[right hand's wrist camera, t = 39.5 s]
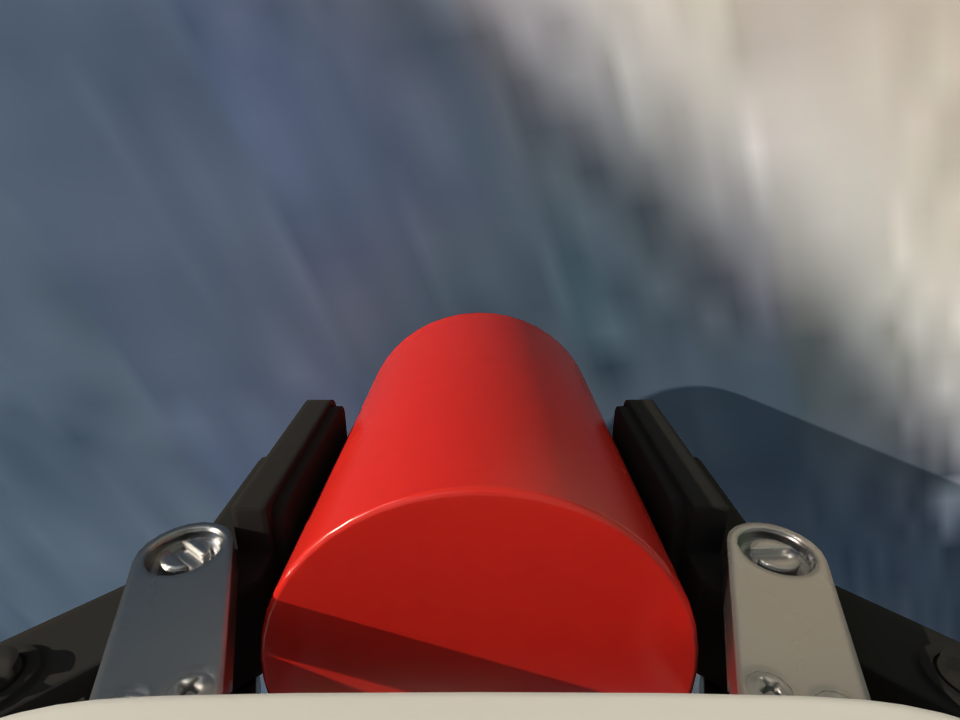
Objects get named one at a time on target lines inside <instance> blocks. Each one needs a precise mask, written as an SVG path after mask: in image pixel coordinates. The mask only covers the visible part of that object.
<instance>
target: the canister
mask: <svg viewBox="0 0 960 720" xmlns="http://www.w3.org/2000/svg"><path fill="white" fill-rule="evenodd" d="M698 646H699V645H698V636H697V627H696V622H695V618H694V615H693V612H692V608H691V605H690V602H689V600H688V598H687V595H686V593H685V591H684V589H683V587H682V585H681V583H680V581H679V578H678V576H677V574H676V572H675V570H674V568H673V566H672V564H671V562H670V559H669V557H668V555H667V553H666V551H665V549H664V547H663V545H662V542H661V540H660V538H659V536H658V534H657V532H656V530H655V528H654V526H653V523H652V521H651V519H650V517H649V515H648V513H647V511H646V509H645V506H644V504H643V502H642V500H641V498H640V496H639V494H638V492H637V490H636V487H635V485H634V483H633V481H632V479H631V477H630V475H629V473H628V471H627V468H626V466H625V464H624V462H623V460H622V458H621V456H620V454H619V451H618V449H617V447H616V445H615V443H614V441H613V439H612V437H611V435H610V432H609V430H608V428H607V426H606V424H605V422H604V420H603V418H602V415H601V413H600V411H599V409H598V407H597V405H596V403H595V401H594V399H593V396H592V394H591V392H590V390H589V388H588V386H587V384H586V382H585V379H584V377H583V375H582V373H581V371H580V369H579V367H578V365H577V364H576V363H575V361H574V360H573V358H572V357H571V355H570V354H569V353H568V352H567V351H566V350H565V349H564V347H563V346H562V345H561V344H560V343H559V342H557V341H556V340H555V339H554V338H552V337H551V336H550V335H549V334H547V333H546V332H544V331H542V330H541V329H539V328H538V327H536V326H534V325H531V324H529V323H527V322H525V321H522V320H519V319H516V318H513V317H509V316H504V315H499V314H493V313H470V314H460V315H456V316H451V317H446V318H444V319H441V320H438V321H435V322H432V323H430V324H428V325H426V326H424V327H422V328H421V329H419V330H417V331H416V332H414V333H413V334H411V335H410V336H408V337H407V338H406V339H405V340H404V341H403V342H401V343H400V344H399V345H398V346H397V347H396V348H395V349H394V350H393V352H392V353H391V354H390V355H389V356H388V358H387V359H386V361H385V362H384V364H383V366H382V367H381V369H380V370H379V373H378V375H377V377H376V379H375V381H374V383H373V385H372V387H371V389H370V391H369V393H368V396H367V398H366V400H365V402H364V404H363V406H362V408H361V410H360V412H359V414H358V417H357V419H356V421H355V423H354V425H353V427H352V429H351V431H350V433H349V435H348V437H347V440H346V442H345V444H344V446H343V448H342V450H341V452H340V454H339V456H338V458H337V461H336V463H335V465H334V467H333V469H332V471H331V473H330V475H329V477H328V479H327V481H326V484H325V486H324V488H323V490H322V492H321V494H320V496H319V498H318V500H317V502H316V505H315V507H314V509H313V511H312V513H311V515H310V517H309V519H308V521H307V523H306V525H305V528H304V530H303V532H302V534H301V536H300V538H299V540H298V542H297V544H296V546H295V549H294V551H293V553H292V555H291V557H290V559H289V561H288V563H287V565H286V567H285V570H284V572H283V574H282V576H281V578H280V580H279V582H278V584H277V586H276V588H275V591H274V593H273V595H272V598H271V600H270V603H269V605H268V607H267V610H266V614H265V619H264V623H263V627H262V633H261V663H262V670H263V678H264V681H265V685H266V688H267V691H268V694H272V693H399V692H561V693H688V694H691V692H692V689H693V685H694V681H695V677H696V673H697V662H698Z"/></svg>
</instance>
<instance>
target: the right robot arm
mask: <svg viewBox="0 0 960 720" xmlns="http://www.w3.org/2000/svg"><path fill="white" fill-rule="evenodd" d="M612 439H613V441H614V443H615V445H616V447H617V449H618V451H619V454H620V456H621V458H622V460H623V462H624V464H625V466H626V468H627V471H628V473H629V475H630V477H631V479H632V481H633V483H634V485H635V487H636V490H637V492H638V494H639V496H640V498H641V500H642V502H643V504H644V506H645V509H646V511H647V513H648V515H649V517H650V519H651V521H652V523H653V526H654V528H655V530H656V532H657V534H658V536H659V538H660V540H661V542H662V545H663V547H664V549H665V551H666V553H667V555H668V557H669V559H670V562H671V564H672V566H673V568H674V570H675V572H676V574H677V576H678V578H679V581H680V583H681V585H682V587H683V589H684V591H685V593H686V595H687V598H688V600H689V602H690V605H691V608H692V612H693V615H694V618H695V622H696V627H697V636H698V645H699V646H698V662H697V673H698V674H699V675H701V677H700V682H699V694H688V693H561V692H399V693H272V694H261V682H260V677H259V675H261V674H262V673H263V670H262V663H261V633H262V627H263V623H264V619H265V614H266V610H267V607H268V605H269V603H270V600H271V598H272V595H273V593H274V591H275V588H276V586H277V584H278V582H279V580H280V578H281V576H282V574H283V572H284V570H285V567H286V565H287V563H288V561H289V559H290V557H291V555H292V553H293V551H294V549H295V546H296V544H297V542H298V540H299V538H300V536H301V534H302V532H303V530H304V528H305V525H306V523H307V521H308V519H309V517H310V515H311V513H312V511H313V509H314V507H315V505H316V502H317V500H318V498H319V496H320V494H321V492H322V490H323V488H324V486H325V484H326V481H327V479H328V477H329V475H330V473H331V471H332V469H333V467H334V465H335V463H336V461H337V458H338V456H339V454H340V452H341V450H342V448H343V446H344V444H345V442H346V440H347V430H346V420H345V411H344V408H343V406H336V404H335V402H334V400H307V401H306V402H305V404H304V405H303V406H302V408H301V409H300V411H299V412H298V413H297V415H296V416H295V418H294V419H293V420H292V422H291V423H290V425H289V426H288V427H287V429H286V430H285V432H284V433H283V434H282V436H281V437H280V439H279V440H278V441H277V443H276V444H275V446H274V447H273V448H272V450H271V451H270V453H269V454H268V455H267V457H263V458H261V459H260V460H259V461H258V463H257V464H256V466H255V467H254V468H253V470H252V471H251V472H250V474H249V475H248V476H247V478H246V479H245V481H244V482H243V483H242V485H241V486H240V487H239V489H238V490H237V492H236V493H235V494H234V496H233V497H232V498H231V500H230V501H229V502H228V504H227V505H226V507H225V508H224V509H223V511H222V512H221V513H220V515H219V516H218V518H217V519H216V520H215V522H214V523H207V522H202V523H193V524H188V525H184V526H180V527H177V528H174V529H172V530H169V531H167V532H165V533H163V534H160V535H159V536H157V537H156V538H154V539H153V540H151V541H150V542H148V543H147V544H146V545H145V546H144V547H143V548H142V549H141V550H140V551H139V552H138V553H137V555H136V557H135V559H134V560H133V563H132V566H131V569H130V572H129V575H128V578H127V582H126V585H124V586H122V587H120V588H118V589H116V590H114V591H111V592H109V593H107V594H105V595H103V596H100V597H98V598H96V599H94V600H92V601H90V602H87V603H85V604H83V605H81V606H79V607H76V608H74V609H72V610H70V611H68V612H66V613H63V614H61V615H59V616H57V617H55V618H52V619H50V620H48V621H46V622H44V623H41V624H39V625H37V626H35V627H33V628H31V629H28V630H26V631H24V632H22V633H20V634H17V635H15V636H13V637H11V638H9V639H7V640H4V641H2V642H0V720H960V642H958V641H955V640H953V639H951V638H949V637H947V636H944V635H942V634H940V633H938V632H936V631H934V630H931V629H929V628H927V627H925V626H923V625H920V624H918V623H916V622H914V621H912V620H909V619H907V618H905V617H903V616H901V615H899V614H896V613H894V612H892V611H890V610H888V609H885V608H883V607H881V606H879V605H877V604H875V603H872V602H870V601H868V600H866V599H864V598H861V597H859V596H857V595H855V594H853V593H851V592H848V591H846V590H844V589H842V588H840V587H837V586H835V585H834V582H833V578H832V575H831V572H830V569H829V566H828V563H827V560H826V559H825V557H824V555H823V553H822V552H821V551H820V550H819V549H818V548H817V547H816V546H815V545H814V544H813V543H812V542H810V541H809V540H807V539H806V538H804V537H803V536H801V535H800V534H797V533H795V532H793V531H791V530H788V529H786V528H783V527H780V526H776V525H772V524H767V523H758V522H753V523H746V522H745V521H744V519H743V518H742V517H741V515H740V514H739V513H738V511H737V510H736V509H735V507H734V506H733V504H732V503H731V502H730V500H729V499H728V498H727V496H726V495H725V493H724V492H723V491H722V489H721V488H720V487H719V485H718V484H717V483H716V481H715V480H714V478H713V477H712V476H711V474H710V473H709V472H708V470H707V469H706V467H705V466H704V465H703V463H702V462H701V461H700V460H699V459H698V458H697V457H693V456H692V455H691V453H690V452H689V450H688V449H687V448H686V446H685V445H684V443H683V442H682V441H681V439H680V438H679V436H678V435H677V434H676V432H675V431H674V429H673V428H672V427H671V425H670V424H669V422H668V421H667V420H666V418H665V417H664V415H663V414H662V413H661V411H660V410H659V408H658V407H657V406H656V404H655V403H654V401H652V400H626V401H625V402H624V406H617V407H616V409H615V415H614V426H613V436H612Z"/></svg>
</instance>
